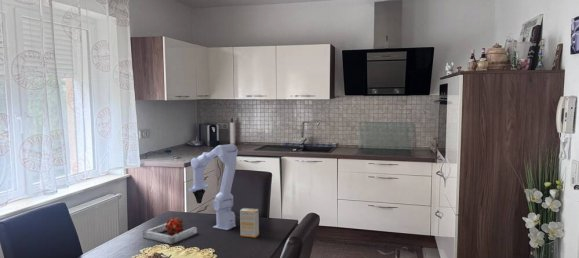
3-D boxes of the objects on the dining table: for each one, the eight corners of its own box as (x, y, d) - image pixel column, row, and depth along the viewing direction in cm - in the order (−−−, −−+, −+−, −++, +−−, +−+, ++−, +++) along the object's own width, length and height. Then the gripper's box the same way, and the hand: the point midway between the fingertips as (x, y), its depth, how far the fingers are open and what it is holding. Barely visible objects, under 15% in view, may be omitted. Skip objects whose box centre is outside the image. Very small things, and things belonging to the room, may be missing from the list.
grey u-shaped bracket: (196, 233, 193) (196, 227, 193) (171, 244, 178) (171, 237, 178) (169, 227, 202) (168, 222, 202) (142, 237, 187) (142, 231, 187)
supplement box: (259, 234, 190) (259, 208, 189) (255, 238, 186) (255, 211, 185) (244, 233, 193) (243, 207, 192) (239, 236, 188) (239, 210, 188)
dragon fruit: (177, 232, 199) (175, 243, 188) (163, 224, 197) (160, 235, 185) (187, 219, 199) (185, 230, 187) (173, 211, 196) (170, 221, 185)
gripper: (201, 176, 223) (202, 199, 224) (184, 180, 210) (184, 205, 211) (211, 177, 220) (211, 200, 220) (193, 181, 207) (194, 206, 208)
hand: (199, 203), depth 215 cm, fingers closed
